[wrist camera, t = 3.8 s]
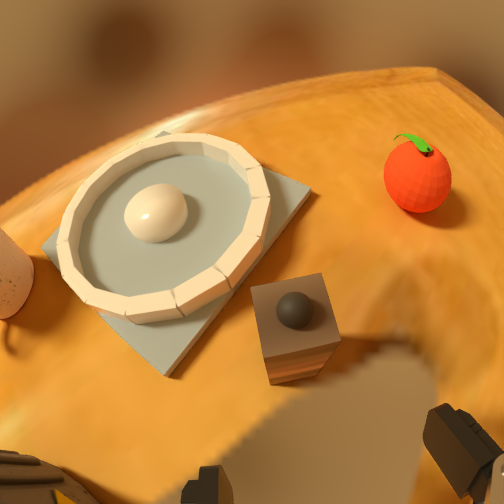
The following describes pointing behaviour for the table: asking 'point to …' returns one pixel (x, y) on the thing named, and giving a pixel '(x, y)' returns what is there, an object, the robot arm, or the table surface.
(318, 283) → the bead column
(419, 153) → the clementine
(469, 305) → the table surface
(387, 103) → the table surface
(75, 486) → the decorative lamp
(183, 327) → the groove dish
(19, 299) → the teacup with lid
